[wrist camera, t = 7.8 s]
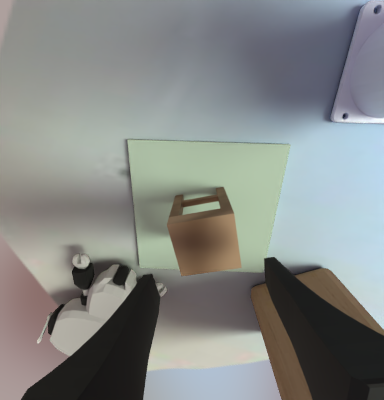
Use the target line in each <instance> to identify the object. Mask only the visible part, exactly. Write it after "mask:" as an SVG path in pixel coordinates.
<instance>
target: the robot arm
mask: <svg viewBox="0 0 384 400" xmlns="http://www.w3.org/2000/svg"><path fill="white" fill-rule="evenodd" d="M374 8H376V9H377V13H376V14H375V13H374ZM344 113H345V118H344V119H342V116H343V114H344ZM331 121H333V122H341V123H375V124H384V1H379V0H372V1H369V2H368V3H366V4H365V5H363V7H362V8H361V10H360V13H359V16H358V20H357V23H356V27H355V31H354V34H353V38H352V41H351V45H350V49H349V52H348V56H347V60H346V63H345V67H344V70H343V74H342V78H341V81H340V85H339V88H338V92H337V96H336V99H335V103H334V107H333V110H332V114H331ZM264 267H265V280H266V286H267V288H268V291H269V294H270V297H271V300H272V302H273V304H274V306H275V309H276V311H277V313H278V315H279V317H280V319H281V321H282V323H283V326H284V328H285V330H286V332H287V334H288V336H289V338H290V341H291V343H292V345H293V347H294V350H295V353H296V355H297V358H298V361H299V363H300V366H301V369H302V371H303V374H304V377H305V380H306V382H307V385H308V388H309V391H310V393H311V396H312V399H313V400H384V335H382V334H380V333H378V332H376V331H374V330H372V329H371V328H369V327H367V326H365V325H364V324H362V323H360V322H358V321H357V320H355V319H353V318H352V317H350V316H348V315H347V314H345V313H343V312H342V311H340V310H339V309H337V308H336V307H334V306H333V305H331V304H330V303H328V302H327V301H326V300H324V299H323V298H321V297H320V296H319V295H317V294H316V293H315V292H313V291H312V290H311V289H310V288H308V287H307V286H306V285H305V284H303V283H302V282H301V281H300V280H299V279H298V278H296V277H295V276H294V275H293V274H292V273H291V272H290V271H289V270H287V269H286V268H285V267H284V266H283V265H282V264H281V263H280V262H279V261H278V260H277V259H276V258H275V257H271V258H264ZM159 305H160V295H159V292H158V289H157V286H156V283H155V281H154V278H153V275H152V274H149V275H143V276H142V278H141V279H140V280H139V282H138V283H137V284H136V286H135V287H134V288H133V290H132V291H131V292H130V294H129V295H128V296H127V297H126V299H125V300H124V301H123V303H122V304H121V305H120V306H119V307H118V309H117V310H116V311H115V312H114V313H113V315H112V316H111V317H110V318H109V319H108V320H107V321H106V322H105V324H104V325H103V326H102V327H101V328H100V329H99V330H98V331H97V332H96V333H95V334H94V335H93V336H92V337H91V338H90V339H89V340H88V341H86V342H85V343H84V344H83V345H82V346H81V347H80V348H79V349H78V350H77V351H76V352H75V353H73V354H72V355H71V356H70V357H69V358H68V359H67V360H65V361H64V362H63V363H61V364H60V365H59V366H58V367H56V368H55V369H54V370H53V371H52V372H50V373H49V374H47V375H46V376H45V377H43V378H42V379H41V380H39V381H38V382H37V383H35V384H34V385H33V386H31V387H30V388H29V389H28V390H27V391H26V393H25V394H24V396H23V397H22V399H21V400H143V395H144V387H145V379H146V372H147V365H148V359H149V353H150V349H151V344H152V340H153V336H154V331H155V327H156V322H157V318H158V313H159Z"/></svg>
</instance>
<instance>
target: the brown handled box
mask: <svg viewBox="0 0 384 400" xmlns="http://www.w3.org/2000/svg"><path fill="white" fill-rule="evenodd" d="M216 192H217V194H216V195H211V196H205V197H200V198H194V199H189V200H184V197H183V194H182V195H176V196H175V198H174V202H173V205H172V208H171V212H170V215H169V219H168V222H167V228H168V231H169V235H170V238H171V242H172V245H173V248H174V252H175V255H176V259H177V262H178V266H179V269H180V272H181V276H187V275H194V274H201V273H208V272H216V271H223V270H230V269H237V268H242V266H241V259H240V252H239V245H238V237H237V230H236V223H235V215H234V212H233V209H232V206H231V204H230V201H229V199H228V196H227V194H226V191H225V189H224V187H220V188H216ZM217 201H219V205H220V209H214V210H208V211H202V212H197V213H191V214H185V215H182V214H183V208H184V207H188V206H194V205H200V204H205V203H211V202H217Z"/></svg>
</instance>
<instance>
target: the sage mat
mask: <svg viewBox="0 0 384 400" xmlns="http://www.w3.org/2000/svg"><path fill="white" fill-rule="evenodd" d="M127 141H128V152H129V162H130V172H131V183H132V193H133V203H134V214H135V224H136V234H137V245H138V255H139V265H140V268H156V269H179V266H178V262H177V259H176V255H175V252H174V248H173V245H172V242H171V238H170V235H169V231H168V228H167V222H168V219H169V215H170V212H171V208H172V205H173V202H174V198H175V196H176V195H182V194H183V197H184V200H189V199H194V198H200V197H205V196H211V195H216V194H217V192H216V188H220V187H224V189H225V191H226V194H227V196H228V199H229V201H230V204H231V206H232V209H233V212H234V215H235V223H236V230H237V237H238V245H239V252H240V259H241V266H242V268H237V269H230V270H223V271H230V272H255V273H263V271H264V258H266V257H267V252H268V248H269V243H270V238H271V234H272V229H273V224H274V220H275V215H276V210H277V206H278V201H279V196H280V192H281V187H282V182H283V178H284V173H285V168H286V164H287V159H288V154H289V150H290V145H289V144H263V143H230V142H198V141H166V140H133V139H128V140H127ZM214 209H220V205H219V201H217V202H211V203H205V204H200V205H194V206H188V207H184V208H183V214H182V215H185V214H191V213H197V212H202V211H208V210H214Z"/></svg>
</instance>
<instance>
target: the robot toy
mask: <svg viewBox="0 0 384 400" xmlns="http://www.w3.org/2000/svg"><path fill="white" fill-rule="evenodd" d="M73 264H74V265H75V267H74V268H73V270H72V275H73V280H74V284H75V285H76V286H78V287H79V288H81V289H82V290H83V293H82V295H81V297H80V298H75V299H72V300H70V301H69V302H68V303H67V304H61V305H60V306H59V307H58V308H57V309H56V310H55V311H54V312H53V313H50V314H49V315H48V317H47V322H46V324H45V326H44V329H43V331H42V333H41V335H40V338H39V339H38V341H37V344H38V343H39V342H40V341H41V340H42V336H43V334H44V332H45V329H46V327H47V325H48V333H49V334H50V335H51V338H50V341H51V343H52V344H53V345H54V346H55V348H56V349H58V350H59V351H61V352H63V353H65V354H66V355H69V356H71V355H72V354H73V353H75V352H76V351H77V350H78V349H79V348H80V347H81V346H82V345H83V344H84V343H85V342H86V341H88V340H89V339H90V338H91V337H92V336H93V335H94V334H95V333H96V332H97V331H98V330H99V329H100V328H101V327H102V326H103V325H104V324H105V322H106V321H107V320H108V319H109V318H110V317H111V316H112V315H113V313H114V312H115V311H116V310H117V309H118V307H119V306H120V305H121V304H122V303H123V301H124V300H125V299H126V297H127V296H128V295H129V294H130V292H131V291H132V290H133V288H134V287H135V286H136V284H137V282H136V273H135V272H134V271H133V270H132V269H131V271H130V273H129V268H128V267H126V266H120V267H119V265H112V266H111V267H110V268H109V269H108V270H106V271H103V272H102V273H101V274H100V275H99V276H98V277H97V279H96V280H95V282H94V283H93V285H92V286H91V284H92V281H93V278H94V275H95V274H94V269H93V263H90V259H89V257H88V255H87V254H82V255H81V256H80V254H76V255H74V256H73ZM118 267H119V268H118ZM117 269H118V270H117ZM128 273H129V275H128ZM90 286H91V287H90ZM156 286H157V289H158V292H159V295H160V297H162V296H163V295H164V294H165V293H166V292H167V288H166V286H164V287H163V284H162V283H161V282H158V283H156Z"/></svg>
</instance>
